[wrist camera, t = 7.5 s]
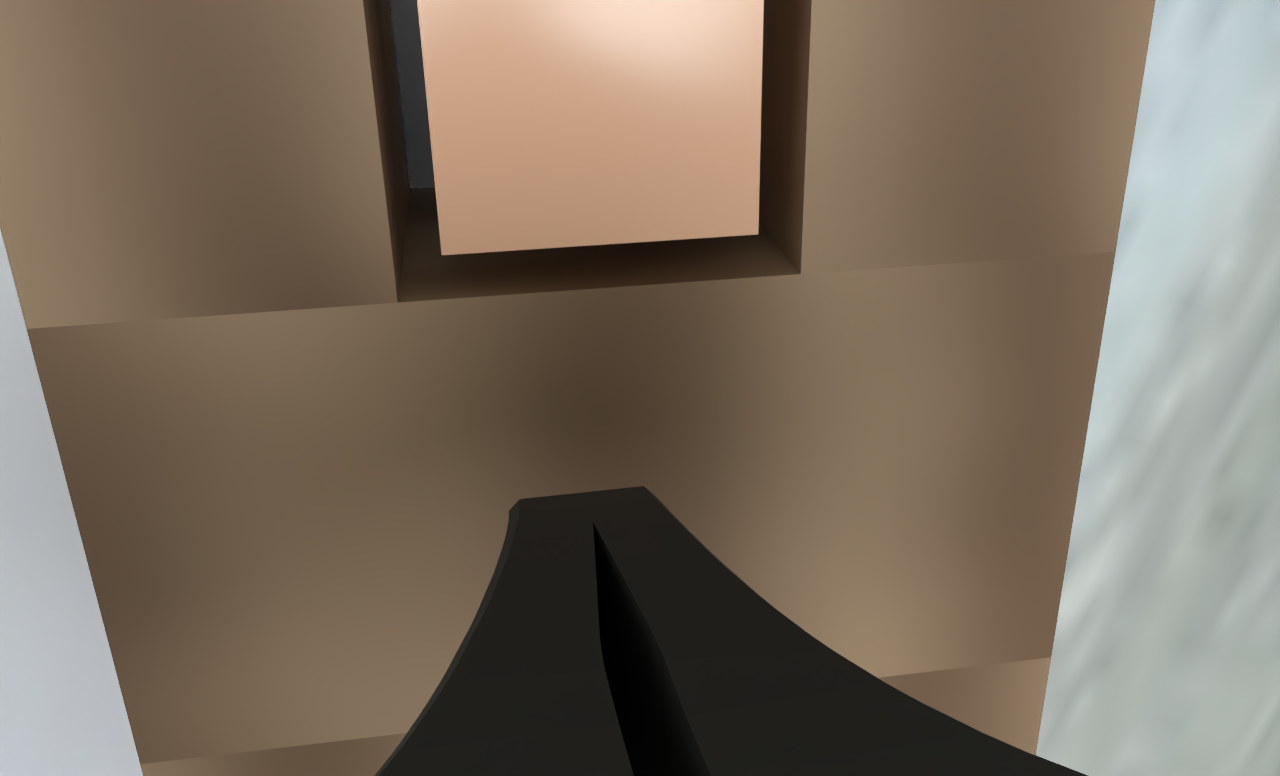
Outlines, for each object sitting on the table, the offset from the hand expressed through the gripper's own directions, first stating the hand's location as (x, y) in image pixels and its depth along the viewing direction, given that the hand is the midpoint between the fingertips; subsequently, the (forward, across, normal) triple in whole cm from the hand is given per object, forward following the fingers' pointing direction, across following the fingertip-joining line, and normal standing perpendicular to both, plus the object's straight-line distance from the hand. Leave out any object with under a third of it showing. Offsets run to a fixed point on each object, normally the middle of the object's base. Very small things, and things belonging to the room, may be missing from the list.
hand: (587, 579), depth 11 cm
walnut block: (+10, -1, +2) cm, 10 cm away
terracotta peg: (+10, -1, -4) cm, 11 cm away
